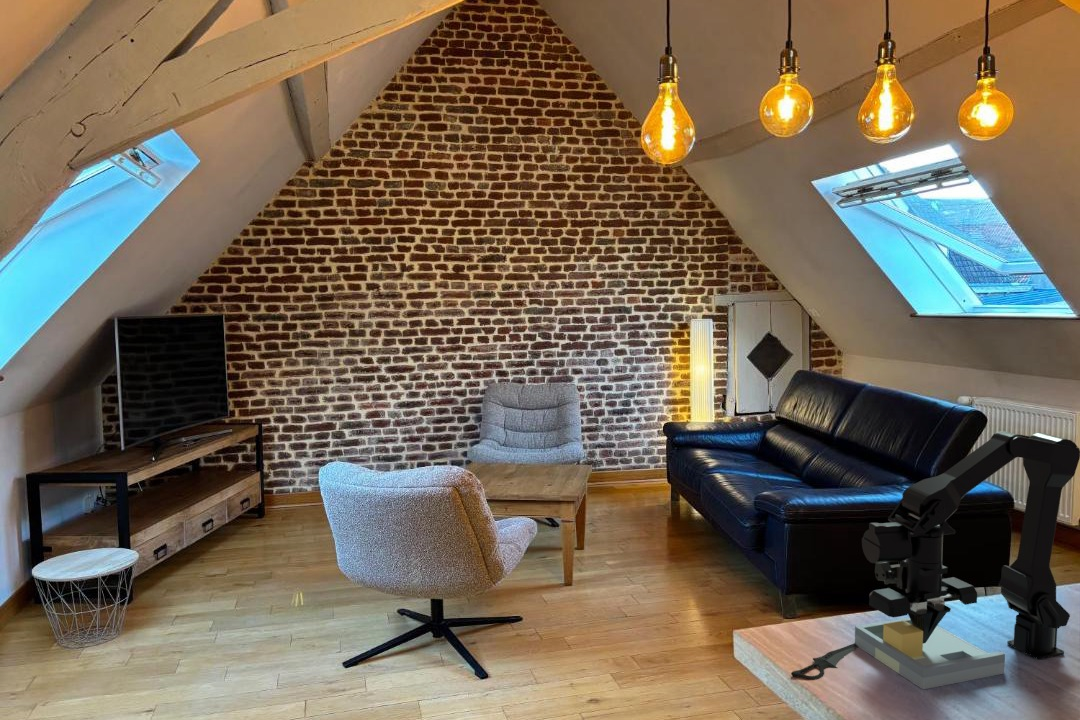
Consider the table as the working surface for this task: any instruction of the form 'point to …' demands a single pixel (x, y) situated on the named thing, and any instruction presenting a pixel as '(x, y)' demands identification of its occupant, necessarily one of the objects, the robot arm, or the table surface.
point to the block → (904, 637)
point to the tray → (931, 657)
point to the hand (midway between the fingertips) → (922, 642)
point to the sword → (825, 662)
